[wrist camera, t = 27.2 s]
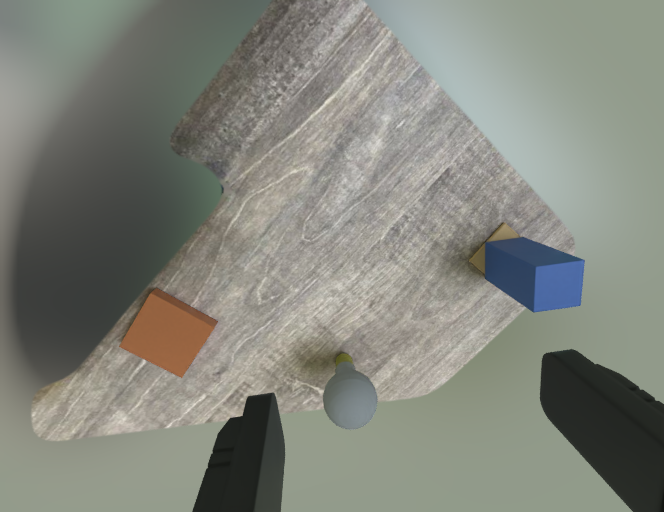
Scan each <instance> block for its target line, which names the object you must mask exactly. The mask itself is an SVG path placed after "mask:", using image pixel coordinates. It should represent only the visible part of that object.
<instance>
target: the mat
mask: <svg viewBox="0 0 664 512" xmlns="http://www.w3.org/2000/svg"><path fill="white" fill-rule="evenodd" d="M512 238H520V236H519V235H518V234H517V233H516V232H515V231H513V230H512V229H511V228H510V227H509V226H508V225H507V224H506V223H503V224H502V225H501V226H500V227H499V228H498V229H497V230H496V231H495V232H494V233H493V235H492V236H491V237H490V238H489V239H488V240H487V241H486V242H491V241H498V240H505V239H512ZM469 261H470V262H471V263H472V264H473V265H474V266H476V267H477V268H478V269H479V270H480V271H481V272H483V273H484V274H485V243H484V244H483V245H482V246H481V248H480V249H479V250H478V251H477V252H476V253H475V254H474V255H473V256H472V257H471V258H470V260H469Z"/></svg>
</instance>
